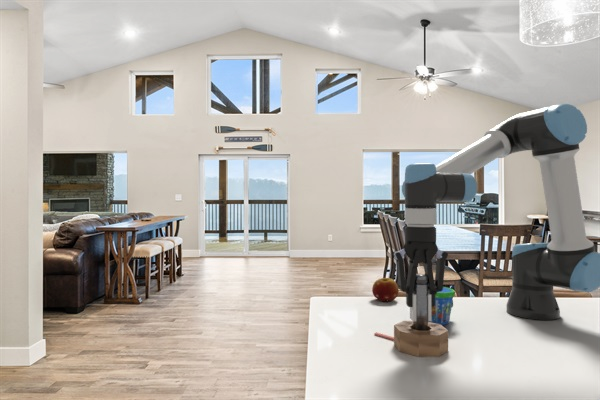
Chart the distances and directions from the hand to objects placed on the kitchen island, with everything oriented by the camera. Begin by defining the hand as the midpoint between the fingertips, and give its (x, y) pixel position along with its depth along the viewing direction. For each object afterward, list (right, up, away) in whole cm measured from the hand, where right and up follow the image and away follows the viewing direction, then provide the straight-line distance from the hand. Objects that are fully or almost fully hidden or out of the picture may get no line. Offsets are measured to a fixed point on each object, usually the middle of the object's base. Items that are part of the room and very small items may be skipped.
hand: (420, 319), depth 103 cm
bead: (0, -7, 0) cm, 7 cm away
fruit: (+2, -8, +50) cm, 51 cm away
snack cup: (+11, -7, +22) cm, 25 cm away
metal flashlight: (0, -5, 0) cm, 5 cm away
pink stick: (-5, -7, +6) cm, 11 cm away
